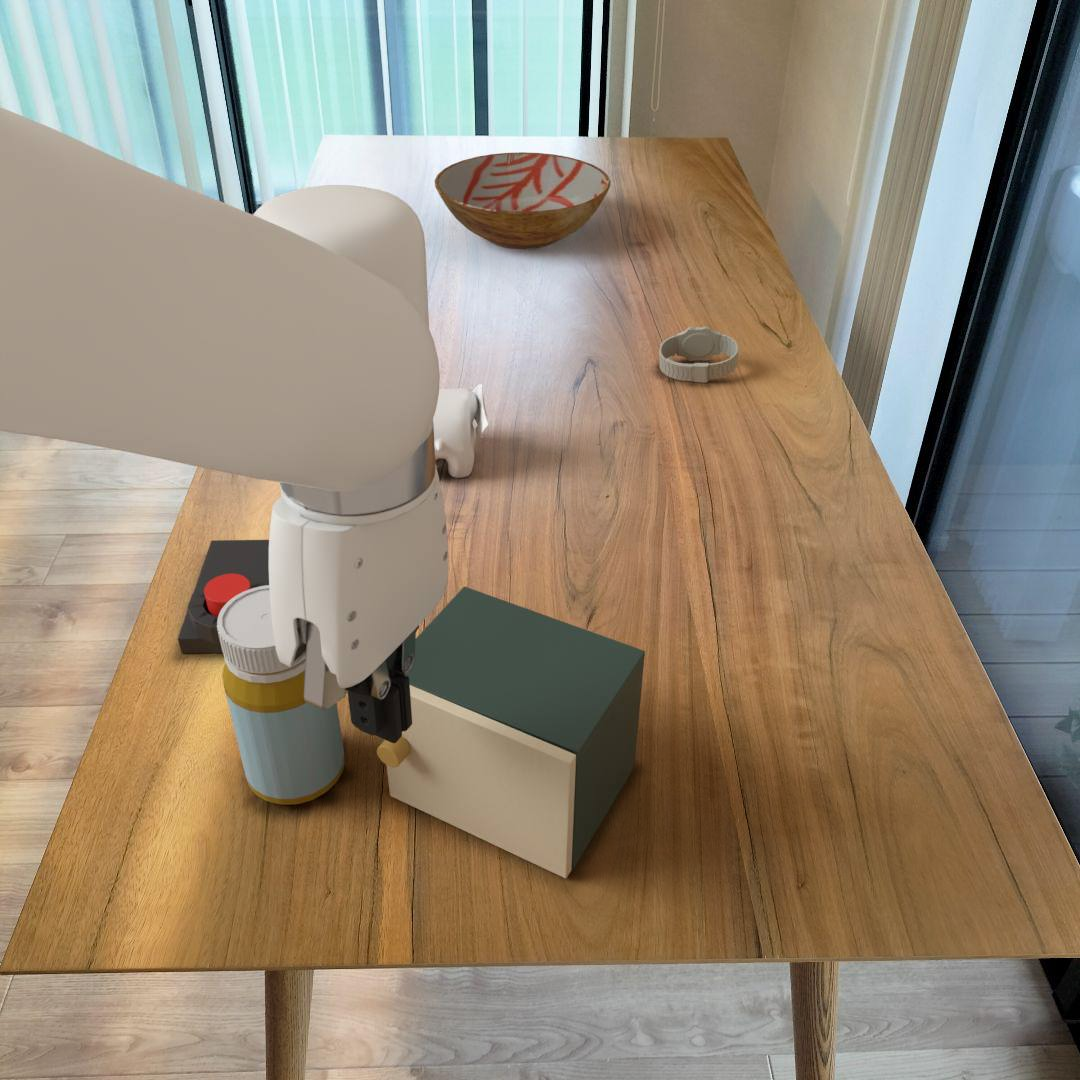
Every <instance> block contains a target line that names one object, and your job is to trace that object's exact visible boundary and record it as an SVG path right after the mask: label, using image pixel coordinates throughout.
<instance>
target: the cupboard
mask: <svg viewBox="0 0 1080 1080" xmlns="http://www.w3.org/2000/svg"><path fill="white" fill-rule="evenodd" d="M645 656H646V651H645V650H643V649H640V648H638V647H636V646H632V645H631V644H630V645H629V644H627V643H624V642H621V641H619V640H615V639H613V638H610V637H607V636H605V635H602V634H598V633H596V632H593V631H590V630H587V629H585V628H582V627H580V626H577V625H574V624H571V623H568V622H565V621H562V620H559V619H557V618H554V617H551V616H549V615H546V614H543V613H541V612H538V611H535V610H532V609H529V608H527V607H523V606H520V605H518V604H515V603H512V602H509V601H507V600H505V599H501V598H499V597H495V596H493V595H490V594H487V593H484V592H482V591H479V590H476V589H473V588H470V587H467V586H465V585H464V586H463V587H462V588H461V589H460V590H459V591H458V592H457V593H456V594H455V595H454V597H453V598H452V599H451V600H450V601H449V602H447V604H446V605H445V606H444V607H443V609H441V611H440V612H439V613H438V614H437V615H436V616H435V617H434V618H433V619H432V620H431V622H430V623H429V624H428V625H427V626H425V628H424V629H423V630H422V631H421V632H420V633H419V634H418V636H416V639H415V660H414V664H413V666H412V668H411V670H410V671H409V672H408V673H406V674H405V676H407V677H409V683H410V685H411V686H414V687H416V688H419V689H421V690H423V691H426V692H428V693H430V694H433V695H435V696H438V697H440V698H442V699H445V700H447V701H449V702H452V703H454V704H457V705H459V706H461V707H464V708H466V709H468V710H471V711H473V712H476V713H478V714H480V715H483V716H485V717H487V718H490V719H492V720H495V721H497V722H499V723H502V724H504V725H506V726H509V727H511V728H514V729H516V730H518V731H521V732H523V733H525V734H528V735H530V736H533V737H535V738H537V739H540V740H542V741H544V742H547V743H549V744H552V745H554V746H556V747H559V748H561V749H564V750H566V751H568V752H571V753H573V754H575V755H576V770H575V794H574V818H573V842H572V867H571V871H572V870H574V869H575V867H576V866H577V864H578V862H580V861H579V860H580V859H581V858H582V856H583V854H584V852H585V850H586V849H587V847H588V846H589V844H590V842H591V840H592V839H593V837H594V836H595V834H596V832H597V830H598V829H599V828H600V826H601V824H602V823H603V820H604V819H605V817H606V816H607V814H608V813H609V810H610V809H611V808H612V806H613V804H614V802H616V801H615V800H616V799H617V797H618V796H619V794H620V792H621V791H622V789H623V787H624V786H625V784H626V782H627V781H628V779H629V778H630V776H631V774H632V772H633V771H634V769H635V765H636V754H637V743H638V742H637V741H638V733H639V723H640V708H641V701H642V700H641V699H642V690H643V679H644V668H645V666H644V665H645Z"/></svg>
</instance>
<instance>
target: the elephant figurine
mask: <svg viewBox="0 0 1080 1080" xmlns="http://www.w3.org/2000/svg"><path fill="white" fill-rule="evenodd" d="M483 392H484V391H483V383H479V384H477V385H476V386H475V387H474V389H473V390H472V389H471V388H467V387H459V388H439V396H438V401H437V406H436V411H435V414H434V417H433V424H434V447H435V464H436V462H437V460H438V459H443V460H445V461H446V462H447V465H448V466H447V467H448V469H447V470H448V471H447V472H448V474H449V475H450V476H451V477H453V478H457V479H460V478H466V477H468V476H470V474H471V473H472V471H473V468H474V465H475V464H474V463H475V450H474V449H475V445H476V436H477V437H478V439H482V438H484V430H485V429H486V428H487V427H488V425H489V419H488V414H487V408H486V403H485V402H486V401H485V398H484V393H483ZM474 421H475V422H476V428H474Z"/></svg>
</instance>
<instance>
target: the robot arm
mask: <svg viewBox="0 0 1080 1080" xmlns="http://www.w3.org/2000/svg"><path fill="white" fill-rule="evenodd" d="M427 270H428V269H427V250H426V241H425V233H424V230H423V226H422V224H421V221H420V218H419V216H418V214H417V213H416V212H415V210H414V209H413V208H412V207H411V206H410V205H409V203H407V202H406V201H404V200H403V199H401V198H400V197H398V196H397V195H395V194H393V193H390V192H388V191H385V190H382V189H378V188H372V187H367V186H360V185H350V184H349V185H348V184H325V185H316V186H308V187H304V188H299V189H295V190H290V191H287V192H284V193H281V194H279V195H276V196H274V197H272V198H270V199H268V200H267V201H266V202H264V203H263V204H261V205H260V206H259V207H258V208H256V211H255V212H254V213H249V212H247V211H245V210H242V209H240V208H238V207H235V206H233V205H230V204H228V203H226V202H223V201H221V200H218V199H216V198H214V197H210V196H208V195H205V194H204V193H200V192H198V191H196V190H194V189H191V188H188V187H186V186H184V185H181V184H178V183H177V182H174V181H171V180H169V179H167V178H164V177H163V176H162V177H161V176H160V175H157V174H154V173H152V172H149V171H147V170H145V169H142V168H140V167H138V166H135V165H134V164H130V163H129V162H126V161H124V160H122V159H119V158H117V157H115V156H113V155H112V154H108V153H107V152H105V151H102V150H100V149H97V148H96V147H93V146H92V145H89V144H87V143H85V142H83V141H81V140H80V139H77V138H74V137H72V136H70V135H68V134H66V133H64V132H61V131H59V130H58V129H56V128H53V127H51V126H47V125H46V124H42V123H41V122H38V121H35V120H34V119H32V118H31V119H30V118H28V117H26V116H23V115H21V114H18V113H16V112H14V111H11V110H8V109H7V108H4V107H1V106H0V432H5V433H13V434H20V435H26V436H33V437H39V438H45V439H54V440H59V441H65V442H71V443H77V444H83V445H89V446H96V447H101V448H106V449H112V450H116V451H121V452H126V453H132V454H135V455H141V456H146V457H150V458H155V459H159V460H165V461H170V462H173V463H179V464H184V465H188V466H193V467H198V468H203V469H207V470H212V471H215V472H216V471H217V472H222V473H227V474H231V475H236V476H241V477H247V478H252V479H257V480H263V481H268V482H276V483H279V487H280V496H279V497H278V499H277V500H275V502H274V503H273V504H272V508H271V516H270V524H269V534H268V535H269V536H268V540H269V591H270V605H271V615H272V625H273V633H274V640H275V646H276V651H277V655H278V658H279V661H280V662H281V663H283V664H285V665H287V666H289V667H293V666H294V665H295V664H296V663H297V662H298V661H299V660H300V659H301V658H302V657H303V656H304V655H305V654H306V663H305V682H304V700H305V701H306V702H308V703H310V704H313V705H315V706H317V707H319V708H322V709H324V710H326V709H328V708H330V707H331V706H333V705H334V704H335V703H338V702H340V701H341V700H342V699H344V698H346V695H347V698H348V699H347V700H348V708H349V715H350V722H351V724H352V725H353V726H354V727H355V728H357V729H358V730H359V731H361V732H363V733H365V734H367V735H370V736H375V737H377V738H380V739H382V740H383V739H384V740H387V741H389V742H391V743H396V742H397V741H398V740H399V739H400V738H401V736H402V732H403V731H407V730H408V729H409V727H410V726H411V725H412V711H411V697H410V683H409V677H407V676H405V674H406V673H408V672H409V671H410V670H411V668H412V666H413V664H414V660H415V639H416V638H417V632H418V630H419V629H420V625H421V624H422V623H423V621H425V620H426V619H427V618H428V616H429V615H430V614H431V613H432V612H433V611H434V609H435V608H436V607H437V606H438V605H439V604H440V602H441V601H442V599H443V598H444V596H445V594H446V592H447V589H448V584H449V573H450V572H449V568H450V560H449V559H450V557H449V556H450V553H449V538H448V528H447V527H448V526H447V517H446V510H445V504H444V498H443V493H442V486H441V482H440V476H439V472H438V468H437V465H436V463H435V447H434V424H433V417H434V414H435V411H436V406H437V401H438V396H439V389H440V380H441V377H440V375H441V373H440V366H439V365H440V364H439V357H438V352H437V348H436V344H435V340H434V337H433V335H432V333H431V331H430V316H429V315H430V314H429V295H428V293H429V292H428V271H427ZM384 740H383V741H384Z"/></svg>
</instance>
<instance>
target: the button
mask: <svg viewBox="0 0 1080 1080" xmlns="http://www.w3.org/2000/svg"><path fill="white" fill-rule="evenodd" d="M249 589H251V586H250V582H249V580H248V579H247V578H246V577H244V576H242V575H239V574H224V575H221V576H218V577H216V578H214V579H212V580H211V581H209V582H208V584H207V585H206V586H205V589H204V594H205V598H206V602H207V606H208V610H209V612H210V613H211V614H212V615H213V616H216V617H218V616H219V613H220V611H221V609H222V608H223V607H224V605H225V604H226V603H227V602H228V601H229V600H231V599H232V598H233V597H235V596H236V595H238V594H240V593H242V592H244V591H246V590H249Z"/></svg>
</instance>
